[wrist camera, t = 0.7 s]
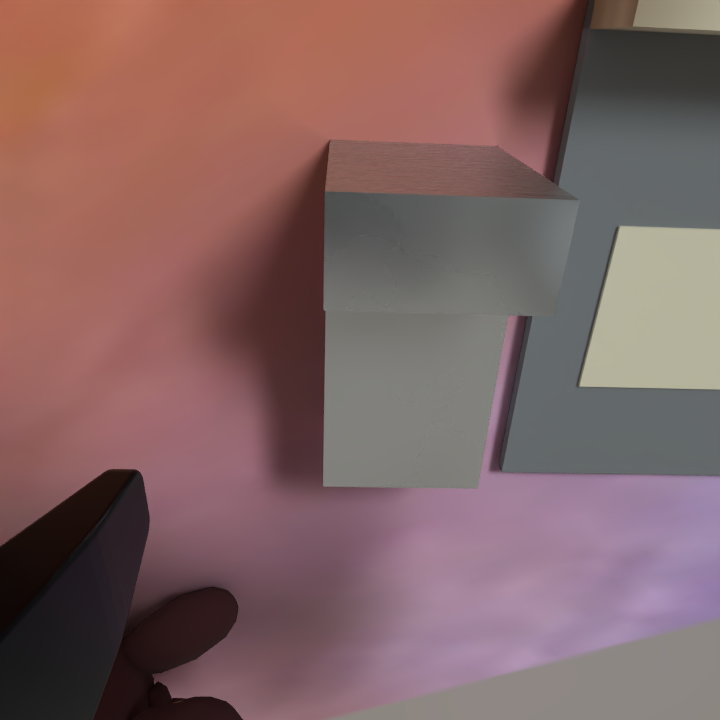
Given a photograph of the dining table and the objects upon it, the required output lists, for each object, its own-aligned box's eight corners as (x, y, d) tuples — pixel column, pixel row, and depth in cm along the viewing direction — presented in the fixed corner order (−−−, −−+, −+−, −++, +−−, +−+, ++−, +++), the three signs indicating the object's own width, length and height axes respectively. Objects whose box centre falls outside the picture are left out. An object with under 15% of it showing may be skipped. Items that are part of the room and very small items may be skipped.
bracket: (329, 139, 14) (324, 191, 9) (497, 145, 14) (580, 200, 9) (325, 420, 18) (320, 563, 13) (457, 422, 18) (500, 563, 13)
